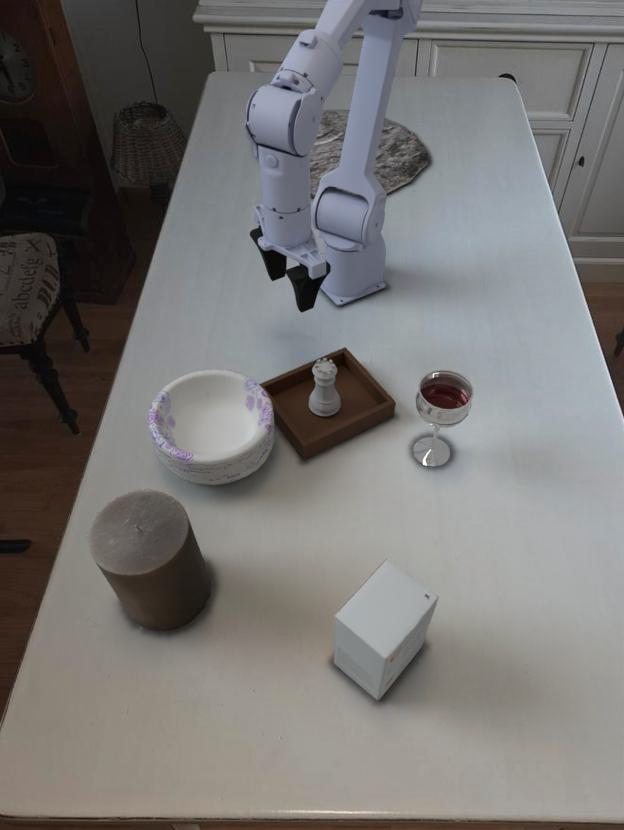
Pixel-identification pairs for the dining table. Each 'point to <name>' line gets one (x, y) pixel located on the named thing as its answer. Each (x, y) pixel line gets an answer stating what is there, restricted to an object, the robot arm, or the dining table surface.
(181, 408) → the paper bowls
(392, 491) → the dining table surface
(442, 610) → the dining table surface
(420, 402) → the wineglass
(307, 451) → the tray
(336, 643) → the small box
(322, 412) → the rook chess piece
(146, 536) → the pillar candle
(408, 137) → the worn metal disc
